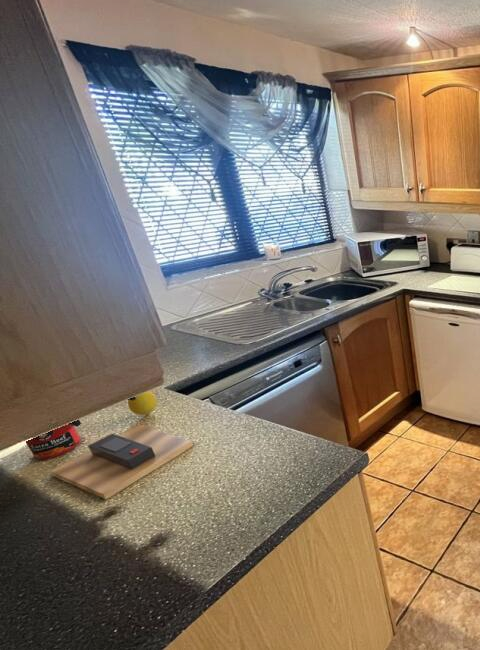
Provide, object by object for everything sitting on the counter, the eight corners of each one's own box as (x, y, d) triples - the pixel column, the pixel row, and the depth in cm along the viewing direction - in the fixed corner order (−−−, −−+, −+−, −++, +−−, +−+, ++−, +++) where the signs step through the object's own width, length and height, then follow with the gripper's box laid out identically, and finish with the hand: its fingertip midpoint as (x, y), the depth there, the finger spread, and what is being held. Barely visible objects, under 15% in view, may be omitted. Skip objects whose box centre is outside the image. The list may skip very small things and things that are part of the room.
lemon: (161, 406, 110) (151, 382, 107) (160, 415, 106) (150, 390, 103) (135, 414, 107) (124, 389, 104) (133, 423, 103) (122, 398, 100)
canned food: (30, 465, 89) (7, 426, 85) (39, 447, 95) (18, 410, 91) (78, 450, 94) (58, 412, 90) (83, 433, 99) (65, 398, 95)
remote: (92, 454, 90) (87, 445, 89) (116, 441, 94) (112, 432, 93) (131, 469, 85) (127, 460, 84) (155, 455, 89) (151, 446, 88)
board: (52, 475, 86) (49, 470, 85) (142, 429, 101) (140, 424, 100) (106, 499, 79) (103, 494, 79) (193, 445, 94) (191, 441, 94)
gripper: (111, 324, 88) (139, 387, 94) (-3, 359, 73) (40, 432, 79) (131, 327, 85) (159, 392, 92) (17, 365, 70) (60, 439, 76)
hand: (104, 411), depth 85 cm, fingers open, 9 cm apart
